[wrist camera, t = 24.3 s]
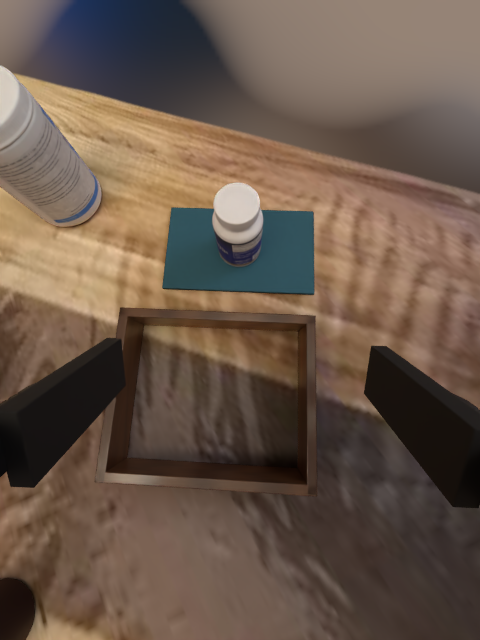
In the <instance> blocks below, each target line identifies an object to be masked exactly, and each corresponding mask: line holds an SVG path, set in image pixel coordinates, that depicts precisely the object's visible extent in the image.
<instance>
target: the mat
mask: <svg viewBox="0 0 480 640" xmlns="http://www.w3.org/2000/svg"><path fill="white" fill-rule="evenodd" d="M261 211H262V214H263V230H262V240H261V249H260V253H259V255H258V257H257V259H256V260H255V261H254V262H252V263H251V264H249V265H247V266H243V267H236V266H232V265H229V264H228V263H226V262H225V261H224V260H223V259H222V257H221V256H220V254H219V250H218V246H217V241H216V237H215V233H214V229H213V223H212V217H213V213H214V209H205V208H171V217H170V226H169V235H168V243H167V252H166V261H165V269H164V278H163V287H162V288H163V289H179V290H204V291H230V292H255V293H281V294H307V295H313V294H314V217H313V212H310V211H275V210H261Z"/></svg>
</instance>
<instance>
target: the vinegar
mask: <svg viewBox="0 0 480 640" xmlns="http://www.w3.org/2000/svg"><path fill="white" fill-rule="evenodd" d="M34 614H35V608H34V600H33V597H32V594H31V592H30V590H29V589H28V588H27V587H26V586H25V584H23V583H22V582H20V581H18V580H16V579H3V580H0V640H25V639H26V637H27V635H28V633H29V631H30V629H31V627H32V625H33V620H34Z"/></svg>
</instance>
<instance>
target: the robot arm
mask: <svg viewBox="0 0 480 640" xmlns="http://www.w3.org/2000/svg"><path fill="white" fill-rule="evenodd" d="M125 386H126V380H125V371H124V361H123V351H122V341H121V339H120V338H106V339H105V340H103V341H102V342H100V343H99V344H97V345H95V346H94V347H92V348H91V349H89V350H88V351H86V352H84V353H83V354H81V355H80V356H78V357H76V358H75V359H73V360H72V361H70V362H69V363H67V364H65V365H64V366H62V367H61V368H59V369H58V370H56V371H54V372H53V373H51V374H50V375H48V376H47V377H45V378H43V379H42V380H40V381H39V382H37V383H35V384H32V385H30V386H28V387H26V388H25V389H23V390H21V391H20V392H18V394H15V395H13V396H12V397H10V398H9V399H8V400H5V401H4V402H2V403H1V404H0V477H1V476H2V475H3V474H4V473H5V472H6V471H7V474H8V478H9V482H10V486H11V487H30V488H34V487H35V486H36V485H37V484H38V483H39V481H40V480H41V479H42V478H43V477H44V476H45V475H46V474H47V473H48V471H49V470H50V469H51V468H52V467H53V466H54V465H55V464H56V463H57V461H58V460H59V459H60V458H61V457H62V456H63V455H64V454H65V453H66V451H67V450H68V449H69V448H70V447H71V446H72V445H73V444H74V443H75V441H76V440H77V439H78V438H79V437H80V436H81V435H82V434H83V433H84V431H85V430H86V429H87V428H88V427H89V426H90V425H91V424H92V423H93V421H94V420H95V419H96V418H97V417H98V416H99V415H100V414H101V413H102V411H103V410H104V409H105V408H106V407H107V406H108V405H109V404H110V403H111V401H112V400H113V399H114V398H115V397H116V396H117V395H118V394H119V393H120V391H121V390H122V389H123V388H124V387H125ZM364 394H365V395H366V397H367V398H368V399H369V400H370V402H371V403H372V404H373V406H374V407H375V408H376V409H377V411H378V412H379V413H380V415H381V416H382V417H383V418H384V420H385V421H386V422H387V423H388V425H389V426H390V427H391V429H392V430H393V431H394V432H395V434H396V435H397V436H398V438H399V439H400V440H401V441H402V443H403V444H404V445H405V446H406V448H407V449H408V450H409V452H410V453H411V454H412V455H413V457H414V458H415V459H416V460H417V462H418V463H419V464H420V466H421V467H422V468H423V469H424V471H425V472H426V473H427V475H428V476H429V477H430V478H431V480H432V481H433V482H434V483H435V485H436V486H437V487H438V489H439V490H440V491H441V492H442V494H443V495H444V496H445V498H446V499H447V500H448V501H449V503H450V504H451V505H452V506H453V507H466V508H479V505H480V410H478V408H477V407H476V406H474V405H473V404H471V403H470V402H469V401H467V400H465V399H463V398H461V397H459V396H457V395H455V394H453V393H450V392H449V391H448V390H446V389H445V388H444V387H442V386H441V385H439V384H438V383H437V382H435V381H434V380H432V379H431V378H430V377H428V376H427V375H426V374H424V373H423V372H421V371H420V370H419V369H417V368H416V367H414V366H413V365H412V364H410V363H409V362H407V361H406V360H405V359H403V358H402V357H401V356H399V355H398V354H396V353H395V352H394V351H392V350H391V349H389V348H388V347H387V346H371V351H370V358H369V364H368V371H367V377H366V384H365V390H364Z"/></svg>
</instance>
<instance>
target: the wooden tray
mask: <svg viewBox="0 0 480 640" xmlns="http://www.w3.org/2000/svg"><path fill="white" fill-rule="evenodd" d="M144 325H160V326H183V327H206V328H229V329H251V330H274V331H297V332H298V468H286V467H270V466H253V465H237V464H221V463H204V462H188V461H171V460H155V459H139V458H127V455H128V447H129V439H130V431H131V423H132V415H133V407H134V399H135V391H136V383H137V375H138V367H139V360H140V352H141V344H142V336H143V328H144ZM116 338H120V339H121V341H122V351H123V361H124V371H125V380H126V386H125V387H124V388H123V389H122V390H121V391H120V393H119V394H118V395H117V396H116V397H115V398H114V399H113V400H112V401H111V403H110V404H109V405H108V406H107V407H106V408H105V414H104V421H103V428H102V435H101V442H100V448H99V455H98V462H97V469H96V476H95V482H100V483H116V484H132V485H147V486H163V487H178V488H194V489H209V490H225V491H240V492H256V493H271V494H287V495H302V496H317V429H316V330H315V316H312V315H288V314H264V313H240V312H216V311H192V310H168V309H144V308H120V312H119V319H118V326H117V333H116Z"/></svg>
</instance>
